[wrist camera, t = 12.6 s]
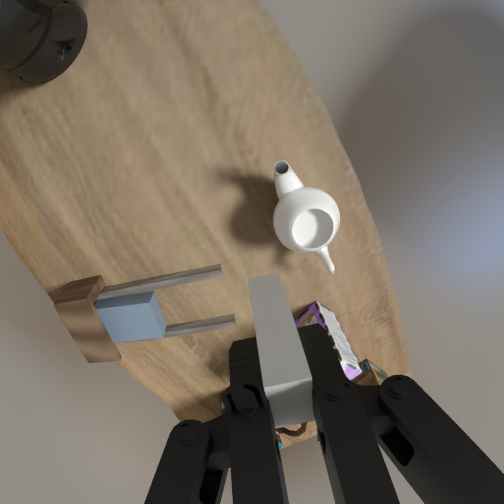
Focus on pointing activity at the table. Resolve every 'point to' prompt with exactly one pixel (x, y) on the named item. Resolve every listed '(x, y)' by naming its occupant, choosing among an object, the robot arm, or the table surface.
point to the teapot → (304, 215)
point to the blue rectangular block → (132, 317)
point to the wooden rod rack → (91, 289)
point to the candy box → (332, 336)
